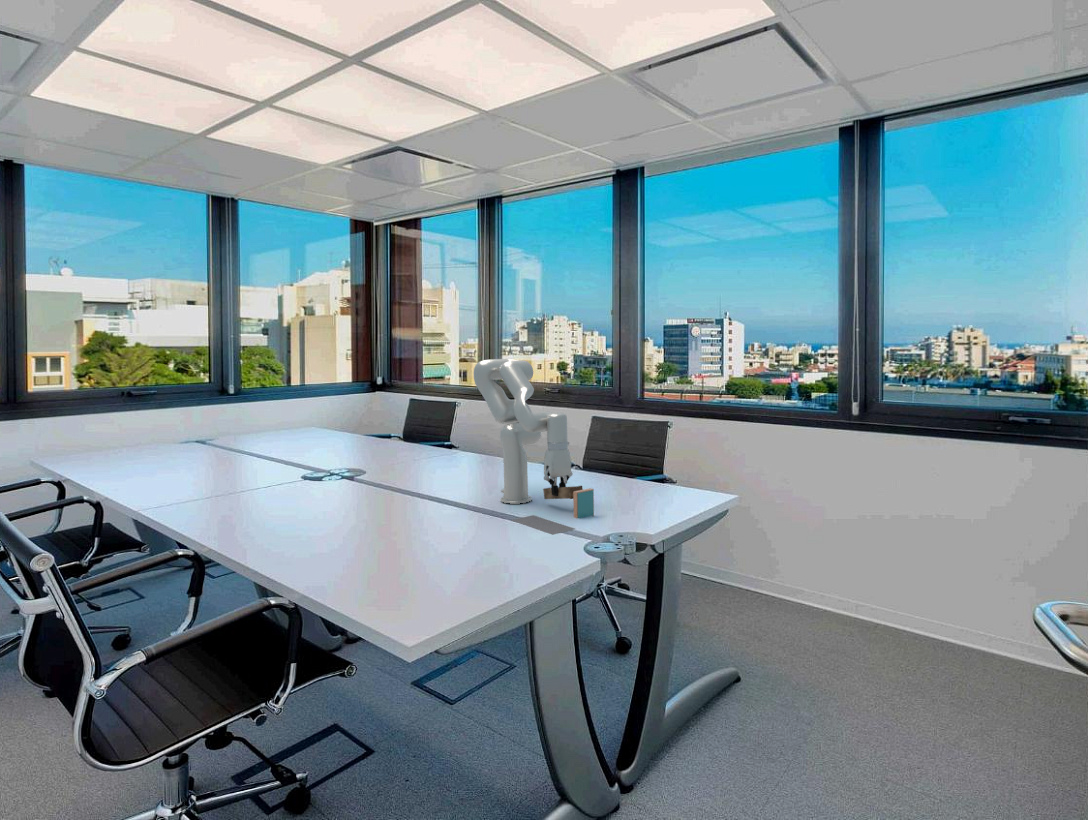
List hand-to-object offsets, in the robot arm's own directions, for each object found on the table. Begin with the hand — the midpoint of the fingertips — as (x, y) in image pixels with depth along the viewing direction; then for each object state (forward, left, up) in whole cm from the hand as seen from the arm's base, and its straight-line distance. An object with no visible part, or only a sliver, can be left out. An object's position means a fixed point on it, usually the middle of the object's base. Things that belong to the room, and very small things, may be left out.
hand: (558, 494), depth 245 cm
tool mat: (+13, -18, -6) cm, 23 cm away
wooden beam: (+2, 0, -1) cm, 2 cm away
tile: (+14, 0, -6) cm, 15 cm away
